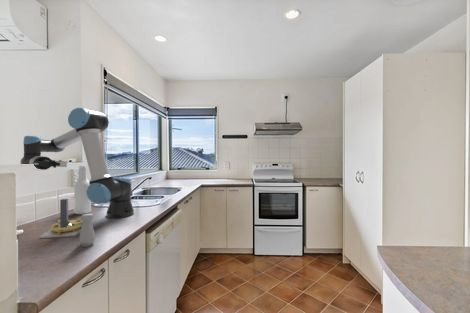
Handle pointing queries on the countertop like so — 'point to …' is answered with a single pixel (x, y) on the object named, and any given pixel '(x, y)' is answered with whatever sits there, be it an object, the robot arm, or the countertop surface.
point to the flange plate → (60, 234)
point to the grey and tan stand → (65, 220)
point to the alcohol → (81, 193)
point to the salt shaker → (87, 231)
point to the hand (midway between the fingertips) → (65, 164)
